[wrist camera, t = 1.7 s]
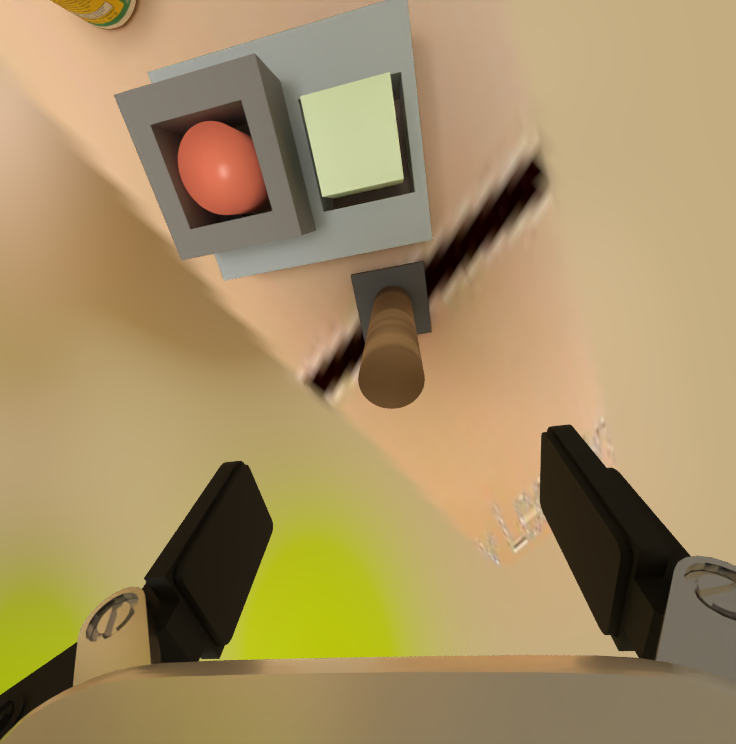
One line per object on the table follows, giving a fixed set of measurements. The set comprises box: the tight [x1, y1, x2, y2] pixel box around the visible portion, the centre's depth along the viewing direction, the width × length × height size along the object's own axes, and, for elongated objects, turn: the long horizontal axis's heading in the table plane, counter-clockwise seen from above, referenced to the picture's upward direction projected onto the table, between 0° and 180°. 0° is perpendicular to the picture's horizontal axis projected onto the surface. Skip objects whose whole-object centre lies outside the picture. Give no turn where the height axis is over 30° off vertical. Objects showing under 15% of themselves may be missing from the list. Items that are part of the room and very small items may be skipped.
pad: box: [351, 261, 432, 342], centre depth 29 cm, size 6×6×1 cm
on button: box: [300, 72, 404, 198], centre depth 20 cm, size 5×5×5 cm
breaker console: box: [114, 0, 432, 281], centre depth 21 cm, size 12×15×9 cm
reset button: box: [178, 121, 272, 215], centre depth 21 cm, size 4×4×5 cm
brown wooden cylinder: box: [358, 286, 425, 409], centre depth 23 cm, size 3×3×14 cm
